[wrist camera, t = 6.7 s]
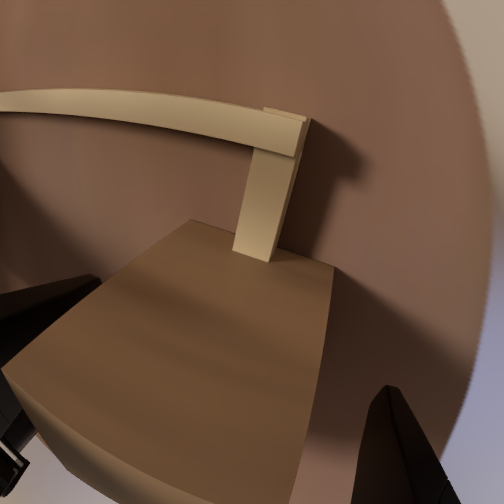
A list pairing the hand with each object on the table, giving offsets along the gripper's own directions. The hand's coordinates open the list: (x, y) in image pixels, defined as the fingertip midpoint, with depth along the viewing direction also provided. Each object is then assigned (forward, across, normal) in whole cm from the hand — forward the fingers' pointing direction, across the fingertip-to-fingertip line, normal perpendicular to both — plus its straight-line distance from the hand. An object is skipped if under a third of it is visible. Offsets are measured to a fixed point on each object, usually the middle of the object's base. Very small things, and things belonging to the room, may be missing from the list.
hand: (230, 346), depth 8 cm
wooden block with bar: (+2, +13, 0) cm, 13 cm away
